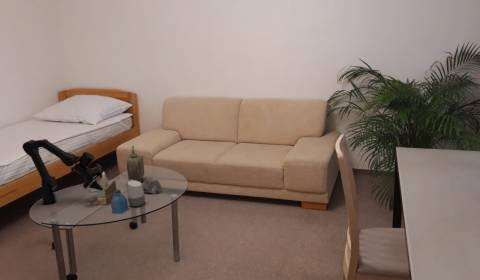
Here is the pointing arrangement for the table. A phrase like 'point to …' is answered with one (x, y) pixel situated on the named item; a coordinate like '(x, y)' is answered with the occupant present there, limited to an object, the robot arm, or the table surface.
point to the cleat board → (107, 195)
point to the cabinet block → (103, 183)
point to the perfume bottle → (119, 202)
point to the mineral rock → (151, 185)
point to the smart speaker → (135, 193)
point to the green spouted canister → (135, 166)
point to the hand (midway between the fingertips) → (104, 188)
